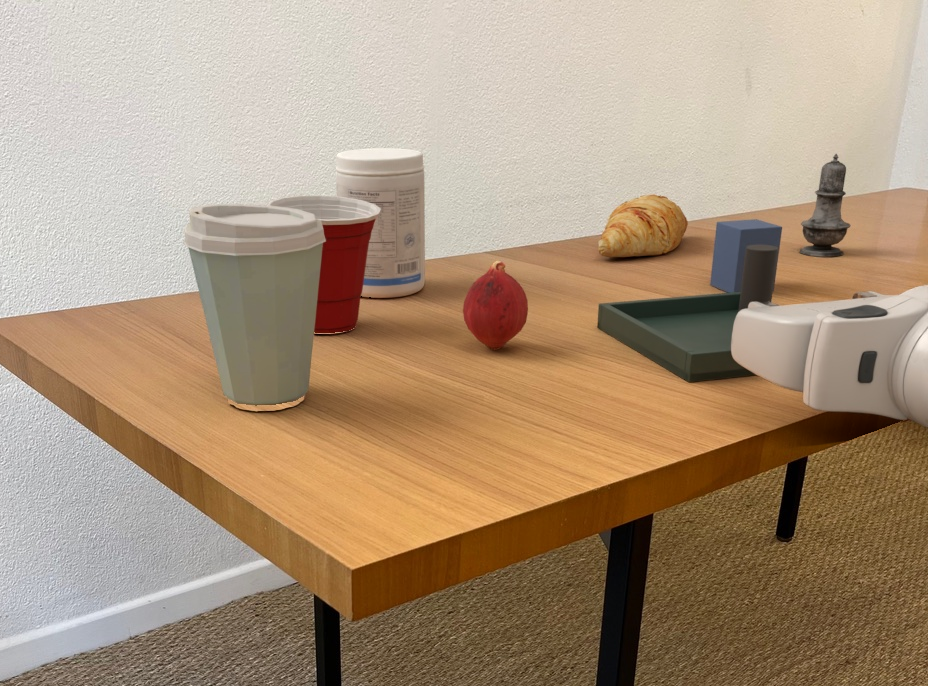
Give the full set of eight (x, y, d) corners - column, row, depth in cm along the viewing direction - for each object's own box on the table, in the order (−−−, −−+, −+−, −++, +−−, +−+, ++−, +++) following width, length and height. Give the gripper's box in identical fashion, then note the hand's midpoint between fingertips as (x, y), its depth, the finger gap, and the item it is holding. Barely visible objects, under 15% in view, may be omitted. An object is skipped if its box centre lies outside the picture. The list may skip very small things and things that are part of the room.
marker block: (749, 282, 119) (756, 219, 116) (774, 291, 115) (782, 226, 112) (709, 285, 118) (716, 221, 115) (733, 295, 114) (741, 229, 111)
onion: (510, 362, 92) (512, 271, 89) (452, 353, 95) (452, 264, 92) (536, 345, 97) (539, 258, 94) (480, 337, 100) (481, 252, 96)
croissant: (621, 293, 129) (653, 238, 124) (559, 246, 132) (588, 191, 127) (693, 260, 144) (725, 209, 139) (637, 218, 147) (665, 168, 142)
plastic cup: (334, 350, 96) (328, 216, 91) (250, 331, 102) (240, 205, 97) (406, 324, 104) (404, 200, 99) (324, 309, 110) (319, 190, 105)
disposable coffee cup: (311, 373, 90) (301, 193, 84) (353, 412, 81) (345, 213, 75) (188, 389, 86) (168, 202, 80) (217, 432, 77) (197, 224, 71)
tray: (742, 314, 106) (754, 215, 102) (855, 364, 91) (875, 250, 86) (596, 327, 102) (603, 225, 98) (688, 382, 87) (700, 263, 83)
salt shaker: (831, 259, 130) (847, 157, 125) (788, 252, 134) (801, 153, 129) (854, 252, 133) (870, 153, 128) (811, 246, 137) (825, 149, 132)
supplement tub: (350, 279, 123) (345, 147, 117) (431, 281, 121) (430, 147, 115) (332, 299, 114) (325, 157, 108) (418, 301, 113) (416, 157, 106)
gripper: (1066, 296, 72) (926, 257, 84) (807, 321, 67) (698, 276, 79) (1044, 383, 75) (911, 333, 87) (793, 414, 70) (690, 356, 82)
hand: (807, 306), depth 83 cm, fingers open, 8 cm apart
